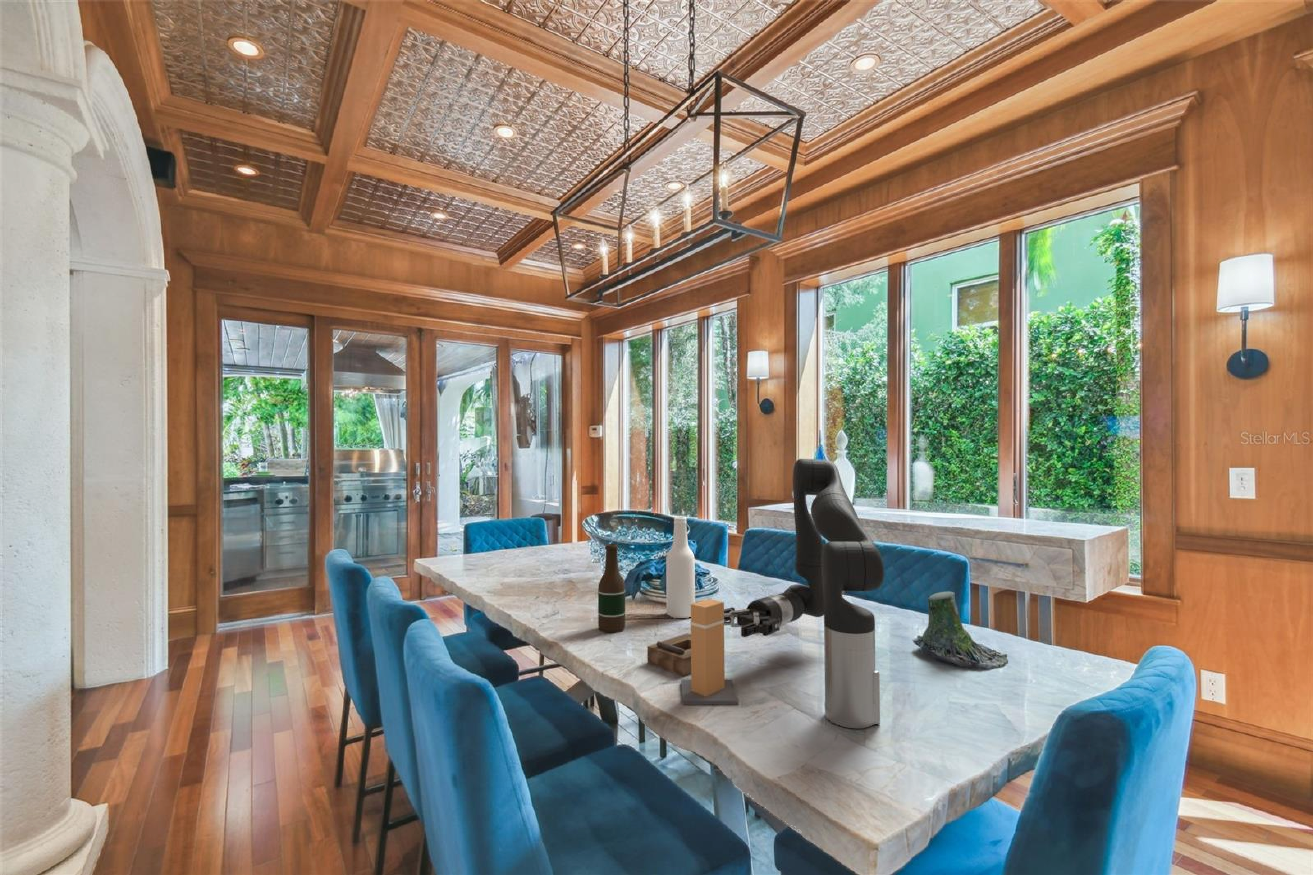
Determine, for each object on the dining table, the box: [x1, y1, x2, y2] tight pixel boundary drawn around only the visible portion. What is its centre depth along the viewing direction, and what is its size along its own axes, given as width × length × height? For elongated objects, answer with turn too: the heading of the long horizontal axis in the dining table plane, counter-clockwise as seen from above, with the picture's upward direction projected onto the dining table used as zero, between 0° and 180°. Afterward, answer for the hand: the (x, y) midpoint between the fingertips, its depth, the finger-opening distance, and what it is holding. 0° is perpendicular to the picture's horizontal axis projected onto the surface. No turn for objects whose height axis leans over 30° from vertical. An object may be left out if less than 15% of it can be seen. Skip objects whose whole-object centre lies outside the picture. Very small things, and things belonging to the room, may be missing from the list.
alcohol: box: [665, 516, 696, 619], centre depth 184 cm, size 9×9×30 cm
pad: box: [680, 678, 739, 706], centre depth 125 cm, size 11×11×1 cm
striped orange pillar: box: [690, 598, 726, 696], centre depth 125 cm, size 4×6×18 cm
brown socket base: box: [646, 633, 691, 677], centre depth 143 cm, size 12×14×5 cm
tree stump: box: [912, 590, 1009, 670], centre depth 146 cm, size 18×20×18 cm
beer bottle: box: [597, 543, 626, 634], centre depth 170 cm, size 8×8×24 cm
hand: (726, 628), depth 129 cm, fingers open, 8 cm apart
